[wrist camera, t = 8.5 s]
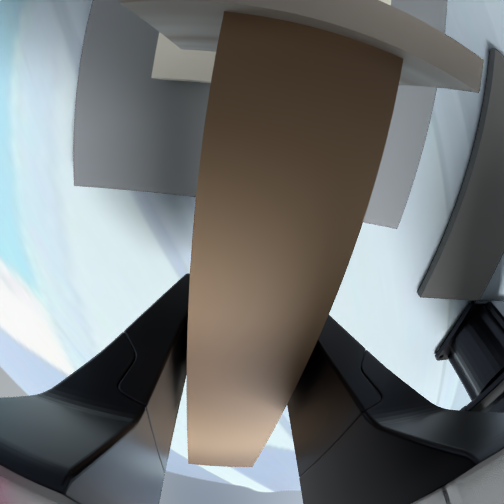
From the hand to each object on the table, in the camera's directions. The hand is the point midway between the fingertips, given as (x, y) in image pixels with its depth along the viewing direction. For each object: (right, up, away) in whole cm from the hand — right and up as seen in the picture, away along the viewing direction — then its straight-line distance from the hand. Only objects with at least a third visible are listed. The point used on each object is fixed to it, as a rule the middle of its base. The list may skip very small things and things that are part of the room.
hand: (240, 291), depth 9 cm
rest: (+16, +5, +5) cm, 18 cm away
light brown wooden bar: (0, 0, +1) cm, 1 cm away
